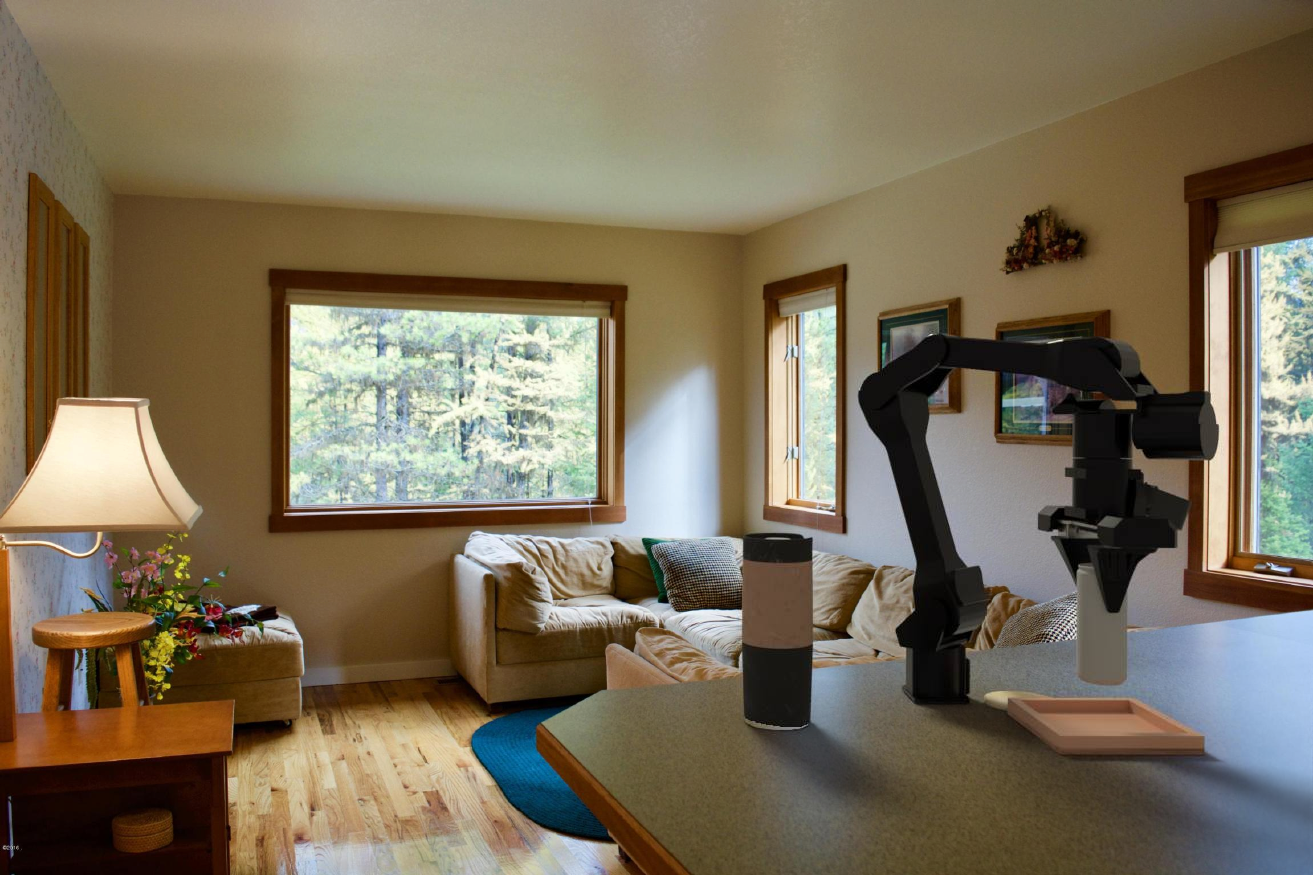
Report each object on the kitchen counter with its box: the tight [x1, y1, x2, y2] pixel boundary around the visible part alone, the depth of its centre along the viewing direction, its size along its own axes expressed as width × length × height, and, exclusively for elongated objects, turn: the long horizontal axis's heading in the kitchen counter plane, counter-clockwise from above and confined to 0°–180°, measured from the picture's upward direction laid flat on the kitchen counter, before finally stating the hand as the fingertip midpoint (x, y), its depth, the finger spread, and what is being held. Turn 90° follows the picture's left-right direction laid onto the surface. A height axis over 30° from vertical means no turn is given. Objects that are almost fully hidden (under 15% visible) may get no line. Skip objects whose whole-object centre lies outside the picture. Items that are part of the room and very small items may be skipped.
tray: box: [1007, 697, 1206, 756], centre depth 102 cm, size 14×14×2 cm
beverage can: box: [1075, 563, 1128, 687], centre depth 102 cm, size 5×5×12 cm
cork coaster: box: [983, 690, 1052, 712], centre depth 113 cm, size 8×8×1 cm
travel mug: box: [741, 532, 814, 727], centre depth 106 cm, size 8×8×20 cm
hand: (1101, 608), depth 102 cm, fingers closed on beverage can, 5 cm apart
